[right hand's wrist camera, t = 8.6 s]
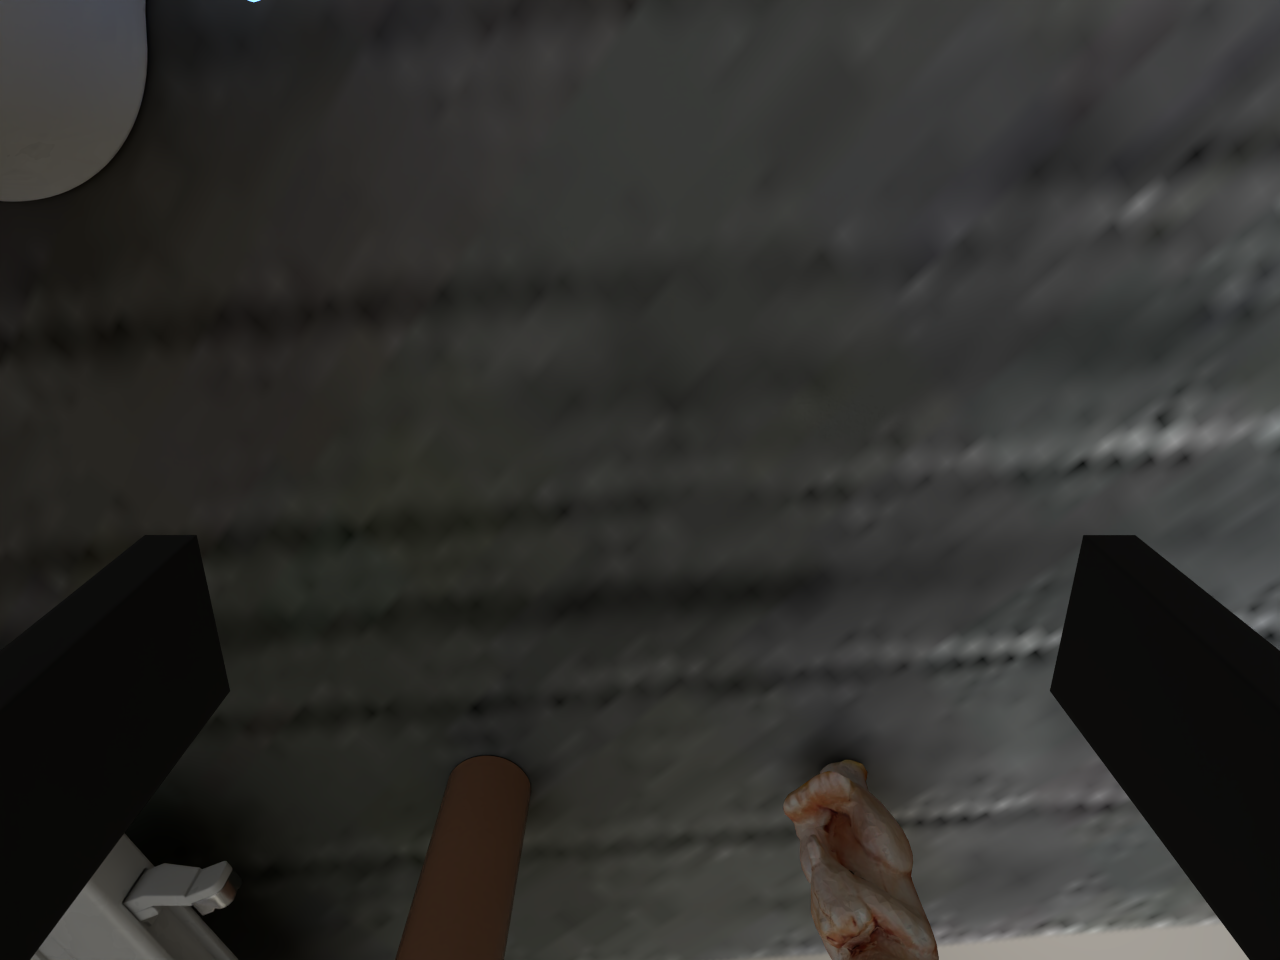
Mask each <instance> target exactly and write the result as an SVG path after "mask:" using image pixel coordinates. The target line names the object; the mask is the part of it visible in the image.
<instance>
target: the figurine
mask: <svg viewBox="0 0 1280 960" xmlns="http://www.w3.org/2000/svg"><path fill="white" fill-rule="evenodd" d="M866 779H867V771H866V769H865V767H864V766H863V764H861V763H858V762H855V761H852V760H844V761H842V762H837V763H831V764H828V765H827V766H825V767H824V768H823V769H822V770H821V771H820V774H819V775H816V776H814V777H813V778H812V779H810V780H809V781H807V782H806V783H805V784H803V785H802V786H800V787H799V788H798V789H796V790H795V791H793V792H791V793H790V794H789V795H788V796H787V797H786V799H785V801H784V806H783V809H784V812H785V814H786V815H787V816H788V817H789V818H790V819H791V820H792V821H793V822H794V825H795V829H796V833H797V836H798V838H799V839H800V860H801V865H802V870H803V872H804V873H805V876H806V878H807V880H808V881H809V882H810V883H811V914H812V917H813V920H814V923H815V926H816V929H817V930H818V932H819V934H820V936H821V938H822V940H823V943H824V945H825V948H826V950H827V952H828V953H829V955H830V957H831V959H832V960H939V956H938V950H937V944H936V941H935V938H934V935H933V932H932V929H931V926H930V924H929V921H928V919H927V917H926V915H925V912H924V910H923V907H922V905H921V902H920V900H919V897H918V895H917V892H916V890H915V887H914V884H913V882H912V878H911V872H912V866H913V855H912V851H911V847H910V844H909V841H908V839H907V838H906V835H905V833H904V831H903V830H902V828H901V827H900V826H899V824H898V823H897V821H896V820H895V819H894V817H893V816H892V815H891V814H890V813H889V811H888V810H887V809H886V808H885V806H884V805H883V804H882V803H881V802H880V801H879V800H878V799H877V798H875V797H874V796H873V795H872V794H871V793H870V792H869V791H868V788H867V784H866Z"/></svg>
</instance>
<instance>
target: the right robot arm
mask: <svg viewBox="0 0 1280 960" xmlns="http://www.w3.org/2000/svg"><path fill="white" fill-rule="evenodd" d="M229 692H230V688H229V684H228V679H227V674H226V670H225V665H224V661H223V656H222V651H221V647H220V642H219V637H218V633H217V628H216V623H215V619H214V614H213V609H212V605H211V600H210V595H209V591H208V586H207V582H206V577H205V572H204V568H203V563H202V558H201V554H200V549H199V544H198V540H197V535H145V536H143V537H142V538H141V539H140V540H138V541H137V542H136V543H135V544H133V545H132V546H131V547H130V548H128V549H127V550H126V551H125V552H123V553H122V554H121V555H120V556H118V557H117V558H116V559H115V560H113V561H112V562H111V563H110V564H108V565H107V566H106V567H105V568H103V569H102V570H101V571H100V572H98V573H97V574H96V575H95V576H93V577H92V578H91V579H90V580H88V581H87V582H86V583H85V584H83V585H82V586H81V587H80V588H78V589H77V590H76V591H75V592H73V593H72V594H71V595H70V596H68V597H67V598H66V599H65V600H63V601H62V602H61V603H60V604H58V605H57V606H56V607H55V608H53V609H52V610H51V611H50V612H48V613H47V614H46V615H45V616H43V617H42V618H41V619H40V620H38V621H37V622H36V623H35V624H33V625H32V626H31V627H30V628H28V629H27V630H26V631H25V632H23V633H22V634H21V635H20V636H18V637H17V638H16V639H15V640H13V641H12V642H11V643H10V644H8V645H7V646H6V647H5V648H3V649H2V650H1V651H0V960H31V958H32V957H33V956H34V954H35V953H36V952H37V950H38V949H39V947H40V946H41V945H42V943H43V942H44V941H45V939H46V938H47V937H48V935H49V934H50V933H51V931H52V930H53V929H54V927H55V926H56V925H57V923H58V922H59V921H60V919H61V918H62V917H63V915H64V914H65V912H66V911H67V910H68V908H69V907H70V906H71V904H72V903H73V902H74V900H75V899H76V898H77V896H78V895H79V894H80V892H81V891H82V890H83V888H84V887H85V886H86V884H87V883H88V882H89V880H90V879H91V877H92V876H93V875H94V873H95V872H96V871H97V869H98V868H99V867H100V865H101V864H102V863H103V861H104V860H105V859H106V857H107V856H108V855H109V853H110V852H111V851H112V849H113V848H114V847H115V845H116V844H117V842H118V841H119V840H120V838H121V837H122V836H123V834H124V833H125V832H126V830H127V829H128V828H129V826H130V825H131V824H132V822H133V821H134V820H135V818H136V817H137V816H138V814H139V813H140V812H141V810H142V809H143V807H144V806H145V805H146V803H147V802H148V801H149V799H150V798H151V797H152V795H153V794H154V793H155V791H156V790H157V789H158V787H159V786H160V785H161V783H162V782H163V781H164V779H165V778H166V777H167V775H168V774H169V772H170V771H171V770H172V768H173V767H174V766H175V764H176V763H177V762H178V760H179V759H180V758H181V756H182V755H183V754H184V752H185V751H186V750H187V748H188V747H189V746H190V744H191V743H192V741H193V740H194V739H195V737H196V736H197V735H198V733H199V732H200V731H201V729H202V728H203V727H204V725H205V724H206V723H207V721H208V720H209V719H210V717H211V716H212V715H213V713H214V712H215V711H216V709H217V708H218V706H219V705H220V704H221V702H222V701H223V700H224V698H225V697H226V696H227V694H228V693H229ZM1050 692H1051V693H1052V694H1053V696H1054V697H1055V698H1056V700H1057V701H1058V702H1059V704H1060V705H1061V706H1062V708H1063V709H1064V711H1065V712H1066V713H1067V715H1068V716H1069V717H1070V719H1071V720H1072V721H1073V723H1074V724H1075V725H1076V727H1077V728H1078V729H1079V731H1080V732H1081V733H1082V735H1083V736H1084V737H1085V739H1086V740H1087V741H1088V743H1089V744H1090V746H1091V747H1092V748H1093V750H1094V751H1095V752H1096V754H1097V755H1098V756H1099V758H1100V759H1101V760H1102V762H1103V763H1104V764H1105V766H1106V767H1107V768H1108V770H1109V771H1110V772H1111V774H1112V775H1113V777H1114V778H1115V779H1116V781H1117V782H1118V783H1119V785H1120V786H1121V787H1122V789H1123V790H1124V791H1125V793H1126V794H1127V795H1128V797H1129V798H1130V799H1131V801H1132V802H1133V803H1134V805H1135V806H1136V807H1137V809H1138V810H1139V812H1140V813H1141V814H1142V816H1143V817H1144V818H1145V820H1146V821H1147V822H1148V824H1149V825H1150V826H1151V828H1152V829H1153V830H1154V832H1155V833H1156V834H1157V836H1158V837H1159V838H1160V840H1161V841H1162V842H1163V844H1164V845H1165V847H1166V848H1167V849H1168V851H1169V852H1170V853H1171V855H1172V856H1173V857H1174V859H1175V860H1176V861H1177V863H1178V864H1179V865H1180V867H1181V868H1182V869H1183V871H1184V872H1185V873H1186V875H1187V876H1188V877H1189V879H1190V880H1191V882H1192V883H1193V884H1194V886H1195V887H1196V888H1197V890H1198V891H1199V892H1200V894H1201V895H1202V896H1203V898H1204V899H1205V900H1206V902H1207V903H1208V904H1209V906H1210V907H1211V908H1212V910H1213V911H1214V912H1215V914H1216V915H1217V917H1218V918H1219V919H1220V921H1221V922H1222V923H1223V925H1224V926H1225V927H1226V929H1227V930H1228V931H1229V933H1230V934H1231V935H1232V937H1233V938H1234V939H1235V941H1236V942H1237V943H1238V945H1239V946H1240V947H1241V949H1242V950H1243V951H1244V953H1245V954H1246V956H1247V957H1248V958H1249V960H1280V651H1279V650H1278V649H1277V648H1275V647H1274V646H1273V645H1272V644H1270V643H1269V642H1268V641H1267V640H1265V639H1264V638H1263V637H1262V636H1260V635H1259V634H1258V633H1257V632H1255V631H1254V630H1253V629H1252V628H1250V627H1249V626H1248V625H1247V624H1245V623H1244V622H1243V621H1242V620H1240V619H1239V618H1238V617H1237V616H1235V615H1234V614H1233V613H1232V612H1230V611H1229V610H1228V609H1227V608H1225V607H1224V606H1223V605H1222V604H1220V603H1219V602H1218V601H1217V600H1215V599H1214V598H1213V597H1212V596H1210V595H1209V594H1208V593H1207V592H1205V591H1204V590H1203V589H1202V588H1200V587H1199V586H1198V585H1197V584H1195V583H1194V582H1193V581H1192V580H1190V579H1189V578H1188V577H1187V576H1185V575H1184V574H1183V573H1182V572H1180V571H1179V570H1178V569H1177V568H1175V567H1174V566H1173V565H1172V564H1170V563H1169V562H1168V561H1167V560H1165V559H1164V558H1163V557H1162V556H1160V555H1159V554H1158V553H1157V552H1155V551H1154V550H1153V549H1152V548H1150V547H1149V546H1148V545H1147V544H1145V543H1144V542H1143V541H1142V540H1140V539H1139V538H1138V537H1137V536H1135V535H1083V540H1082V544H1081V549H1080V554H1079V558H1078V563H1077V568H1076V572H1075V577H1074V582H1073V586H1072V591H1071V595H1070V600H1069V605H1068V609H1067V614H1066V619H1065V623H1064V628H1063V633H1062V637H1061V642H1060V647H1059V651H1058V656H1057V661H1056V665H1055V670H1054V674H1053V679H1052V684H1051V688H1050Z"/></svg>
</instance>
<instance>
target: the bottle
mask: <svg viewBox="0 0 1280 960" xmlns="http://www.w3.org/2000/svg"><path fill="white" fill-rule="evenodd" d="M530 797H531V786H530V782H529V780H528V778H527V776H526V774H525V773H524V772H523V770H522V769H521V768H520V767H518V766H517V765H516V764H514V763H513V762H511V761H509V760H507V759H504V758H501V757H497V756H477V757H473V758H470V759H467V760H465V761H463V762H462V763H460V764H459V765H458V766H457V767H456V768H455V769H454V770H453V771H452V773H451V774H450V776H449V779H448V782H447V785H446V789H445V792H444V795H443V799H442V802H441V806H440V809H439V812H438V816H437V819H436V823H435V826H434V829H433V833H432V836H431V839H430V843H429V846H428V850H427V853H426V856H425V860H424V863H423V867H422V870H421V873H420V877H419V880H418V884H417V887H416V890H415V894H414V897H413V900H412V904H411V907H410V911H409V914H408V917H407V921H406V924H405V928H404V931H403V934H402V938H401V941H400V944H399V948H398V951H397V955H396V958H395V960H504V957H505V950H506V944H507V938H508V932H509V926H510V920H511V914H512V907H513V901H514V895H515V889H516V883H517V877H518V871H519V864H520V858H521V852H522V846H523V840H524V834H525V828H526V821H527V815H528V809H529V803H530Z"/></svg>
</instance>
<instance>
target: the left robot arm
mask: <svg viewBox="0 0 1280 960" xmlns="http://www.w3.org/2000/svg"><path fill="white" fill-rule="evenodd" d="M249 1H252V2H256V1H259V0H249ZM145 9H146V0H0V201H10V202H17V201H31V200H38V199H43V198H48V197H52V196H55V195H58V194H61V193H64V192H66V191H69V190H71V189H73V188H75V187H77V186H79V185H81V184H82V183H84V182H86V181H87V180H89V179H90V178H92V177H93V176H94V175H95V174H97V173H98V172H99V171H100V170H101V169H102V168H104V167H105V166H106V165H107V164H108V163H109V162H110V160H111V159H112V158H113V157H114V156H115V155H116V153H117V152H118V151H119V149H120V148H121V147H122V145H123V143H124V142H125V140H126V139H127V137H128V135H129V133H130V131H131V129H132V127H133V125H134V122H135V120H136V117H137V115H138V112H139V109H140V106H141V102H142V98H143V93H144V89H145V82H146V74H147V32H146V15H145ZM242 883H243V880H242V879H241V878H240V876H239V875H238V874H237V873H236V872H235V870H234V869H233V868H232V867H231V866H230V864H229V863H228V862H227V861H223V862H220V863H217V864H215V865H212V866H209V867H207V868H204V869H201V868H199V867H191V866H183V865H175V864H168V863H163V864H161V865H158V866H156V867H154V865H153V864H152V863H151V862H150V861H149V860H148V859H147V858H146V857H145V855H144V854H143V853H142V852H141V851H140V850H139V849H138V848H137V847H136V845H135V844H134V843H133V842H132V841H131V840H130V839H129V838H128V836H127V835H126V834H125V833H124V834H123V836H122V837H121V838H120V840H119V841H118V842H117V844H116V845H115V847H114V848H113V849H112V851H111V852H110V853H109V855H108V856H107V857H106V859H105V860H104V861H103V863H102V864H101V865H100V867H99V868H98V869H97V871H96V872H95V873H94V875H93V876H92V877H91V879H90V880H89V882H88V883H87V884H86V886H85V887H84V888H83V890H82V891H81V892H80V894H79V895H78V896H77V898H76V899H75V900H74V902H73V903H72V904H71V906H70V907H69V908H68V910H67V911H66V912H65V914H64V915H63V917H62V918H61V919H60V921H59V922H58V923H57V925H56V926H55V927H54V929H53V930H52V931H51V933H50V934H49V935H48V937H47V938H46V939H45V941H44V942H43V943H42V945H41V946H40V947H39V949H38V950H37V952H36V953H35V954H34V956H33V957H32V958H31V960H239V959H238V958H237V957H236V956H235V955H234V954H233V953H232V952H231V951H230V950H229V948H228V947H227V946H226V945H225V944H224V943H223V942H222V941H221V940H220V938H219V937H218V936H217V935H216V934H215V933H214V932H213V931H212V930H211V928H210V927H209V926H208V925H207V924H206V923H205V922H204V921H203V920H202V919H201V917H200V916H199V915H198V914H197V913H196V912H195V911H194V910H193V909H192V907H191V906H192V905H193V906H194V907H195V908H196V909H197V910H198V911H199V912H200V913H201V914H202V915H206V914H209V913H211V912H213V911H214V909H215V908H216V909H222V908H224V907H226V906H228V905H229V904H230V903H231V902H232V901H233V900H234V898H235V896H236V895H237V889H238V888H240V887H241V885H242Z"/></svg>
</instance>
